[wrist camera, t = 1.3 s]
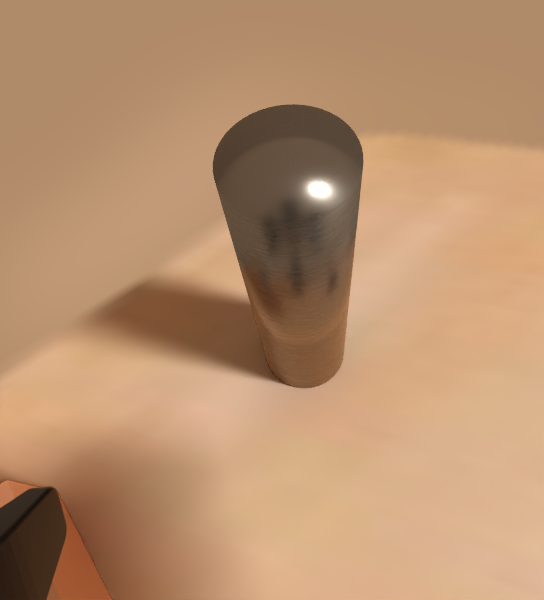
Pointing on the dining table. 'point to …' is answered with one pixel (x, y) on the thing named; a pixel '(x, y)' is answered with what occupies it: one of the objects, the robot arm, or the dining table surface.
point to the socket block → (66, 558)
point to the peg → (294, 231)
